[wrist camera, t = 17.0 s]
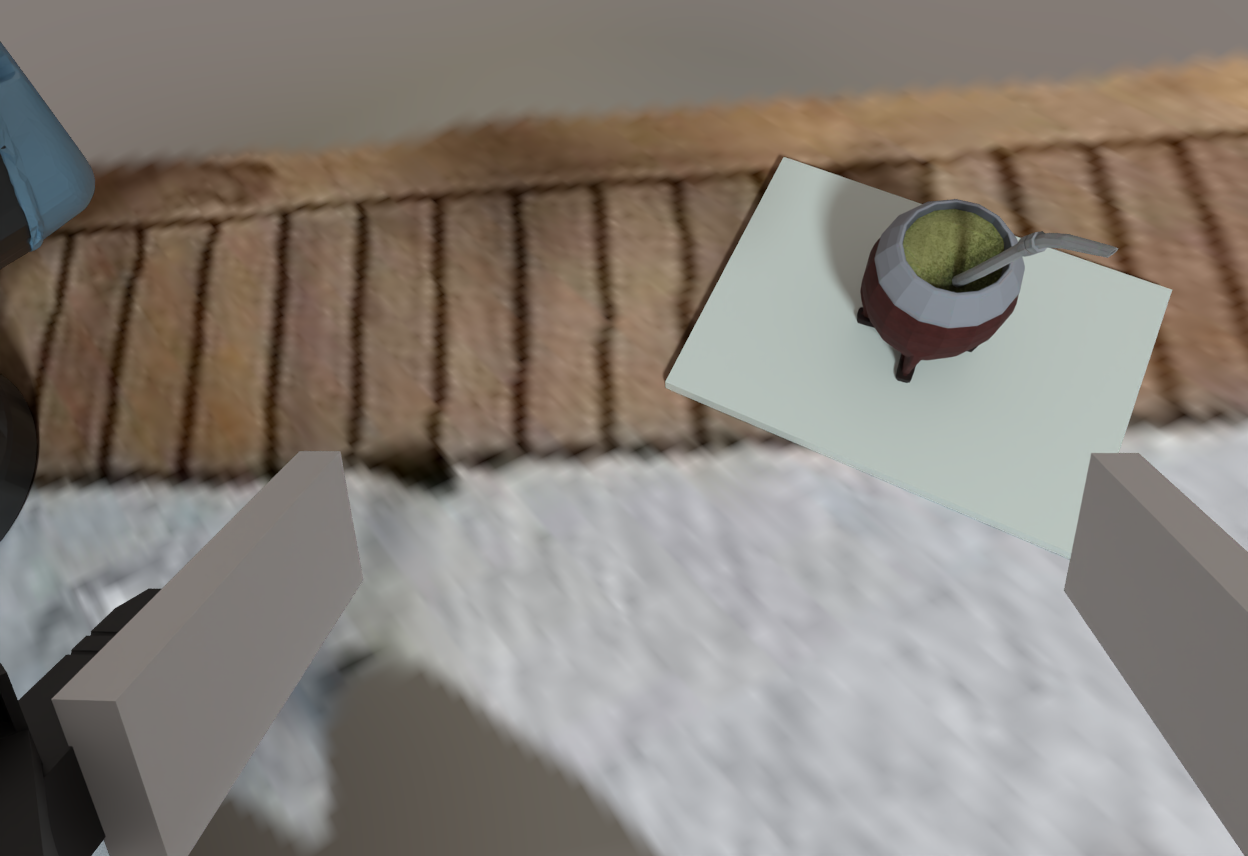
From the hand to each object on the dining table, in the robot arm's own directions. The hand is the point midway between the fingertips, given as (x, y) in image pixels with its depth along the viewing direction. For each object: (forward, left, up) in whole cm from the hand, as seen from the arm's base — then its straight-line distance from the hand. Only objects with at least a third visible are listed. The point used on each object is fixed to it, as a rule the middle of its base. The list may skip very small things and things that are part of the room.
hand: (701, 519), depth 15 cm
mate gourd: (+3, +21, -27) cm, 34 cm away
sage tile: (+3, +21, -28) cm, 35 cm away
